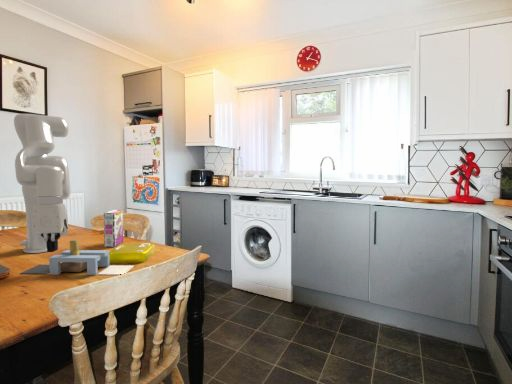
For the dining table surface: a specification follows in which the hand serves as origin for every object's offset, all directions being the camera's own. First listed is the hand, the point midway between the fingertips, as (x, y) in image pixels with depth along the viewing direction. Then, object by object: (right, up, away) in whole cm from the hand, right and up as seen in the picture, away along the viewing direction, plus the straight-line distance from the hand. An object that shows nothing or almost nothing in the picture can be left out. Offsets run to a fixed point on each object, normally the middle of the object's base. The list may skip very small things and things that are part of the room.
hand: (52, 251), depth 104 cm
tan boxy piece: (+8, -7, +1) cm, 11 cm away
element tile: (+22, -7, +16) cm, 28 cm away
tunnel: (+10, -7, +1) cm, 12 cm away
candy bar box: (+5, -4, +36) cm, 36 cm away
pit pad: (-4, -7, +1) cm, 8 cm away
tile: (+23, -7, +1) cm, 24 cm away
